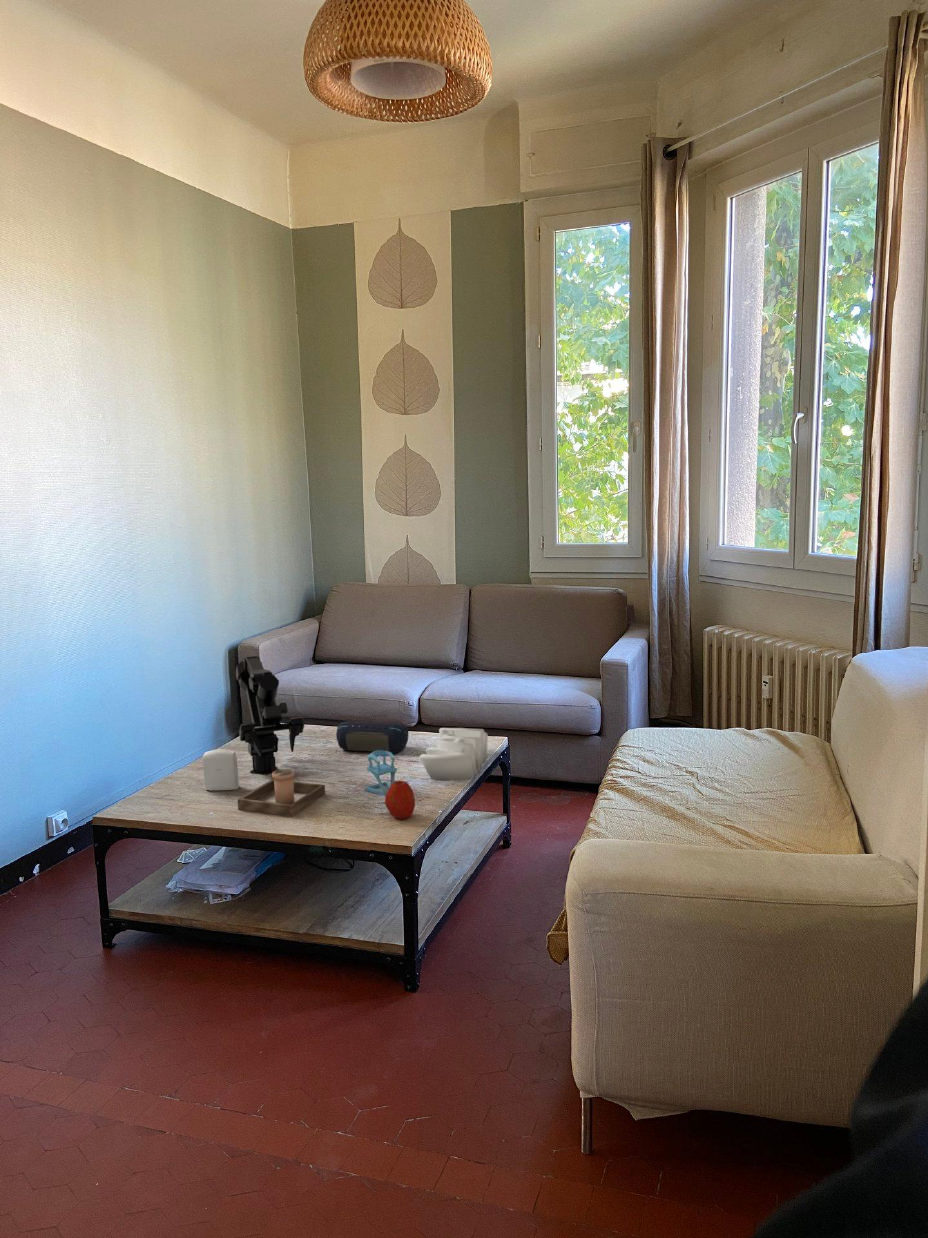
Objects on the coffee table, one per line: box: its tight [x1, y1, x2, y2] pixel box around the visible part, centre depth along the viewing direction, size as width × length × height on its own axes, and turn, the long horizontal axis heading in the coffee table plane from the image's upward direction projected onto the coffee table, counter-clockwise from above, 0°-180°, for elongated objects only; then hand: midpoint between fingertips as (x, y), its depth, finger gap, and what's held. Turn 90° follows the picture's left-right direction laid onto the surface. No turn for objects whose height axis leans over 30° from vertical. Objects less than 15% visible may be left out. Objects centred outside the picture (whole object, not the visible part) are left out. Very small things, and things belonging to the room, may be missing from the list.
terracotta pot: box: [271, 768, 296, 805], centre depth 256 cm, size 6×6×10 cm
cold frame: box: [237, 778, 326, 817], centre depth 259 cm, size 18×18×3 cm
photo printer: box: [202, 748, 240, 791], centre depth 271 cm, size 10×4×12 cm, turn 89°
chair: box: [364, 750, 398, 797], centre depth 266 cm, size 8×8×12 cm
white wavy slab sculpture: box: [418, 727, 489, 782], centre depth 285 cm, size 35×16×11 cm, turn 163°
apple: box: [384, 780, 416, 820], centre depth 245 cm, size 8×8×11 cm
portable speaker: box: [335, 720, 410, 753], centre depth 305 cm, size 25×10×10 cm, turn 77°
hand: (277, 753), depth 262 cm, fingers open, 9 cm apart
